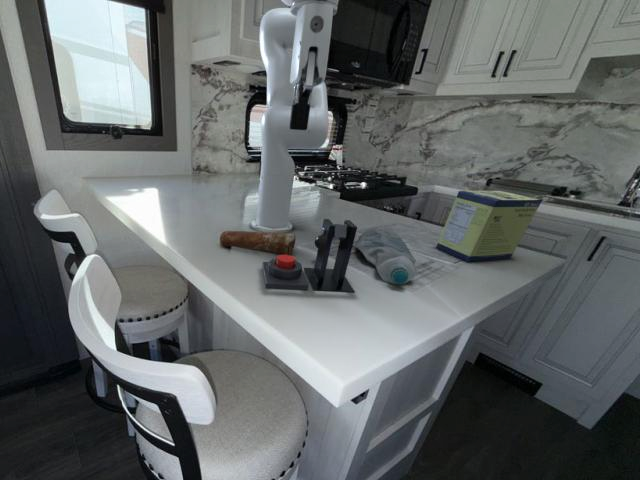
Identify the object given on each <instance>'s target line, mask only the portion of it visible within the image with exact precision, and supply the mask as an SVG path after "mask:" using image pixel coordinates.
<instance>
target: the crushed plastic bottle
mask: <svg viewBox="0 0 640 480" xmlns="http://www.w3.org/2000/svg"><path fill="white" fill-rule="evenodd" d="M355 246H356V248H357V249H358V250H359V251H360V252H361V253H362V254H363V257H365V259H366V260H367V262H369V263H371V264H372V265H373V266H375V268H376V270H377V273H378V275H379V276H380V278H381V279H382V280H383V282H385V283H389V284H396V285H403V284H406V283H408V282H410V281H412V280H413V279H414V278H415V277H416V276H417V268H416V265H415V264H416V262H417V261H416V259H415V257H414V256H413V254H412V252H411V251H410V249H409V248H408V246H407V245H406V243H405V242H404V240H403V239H402V238H401V236H400V235H398V234H397V233H396V232H395V231H393V230H392V229H389V228H388V227H384V226H376V227H372V228H369V229H367V230H366V231H364V232H363V233H362V234H360V235H359V237H358V240H357V241H356V242H355Z"/></svg>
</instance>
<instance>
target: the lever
mask: <svg viewBox="0 0 640 480" xmlns="http://www.w3.org/2000/svg"><path fill="white" fill-rule="evenodd" d="M333 224H334V225H335V229H334V234H333V238H332V241H340V240H342V239H344V238H346V232H347V225H346V224H344V223H343V224H342V223H333ZM320 236H321V234H319V235H318V236H316V237H315V239H314V246H315V248H317V249H318V247H319V242H320Z"/></svg>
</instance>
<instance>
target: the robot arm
mask: <svg viewBox="0 0 640 480" xmlns="http://www.w3.org/2000/svg"><path fill="white" fill-rule="evenodd" d="M280 1H281V2H282V3H283V4H285V5H286V6H289V7H275V8H273V9H270V10H268V11H266V13H264V14H263V16H262V18H261V20H260V25H259V51H260V57H261V60H262V64H263V67H264V69H265V72H266V104H267V109H266V110H264V112H263V113H262V117H261V121H260V134H261V136H260V137H261V162H260V175H259V189H258V197H257V198H258V200H257V213H256V218H254V219H253V220H252V221H251V224H250V225H251V228H253V229H255V230H267V231H292V230H293V224H292V223H291V222H290V221H289V216H290V209H291V202H292V195H293V194H292V193H293V188H294V187H293V186H294V179H295V172H296V165H295V162H294V159H293V158H292V156H291V154H290V153H289V149H297V150H298V149H299V150H318V149H320V148H321V147H323V146H324V144H325V143H326V141H327V138H328V134H329V124H330V122H329V106H328V105H329V103H328V90H327V85H326V82H325V80H326V77H327V69H328V63H329V62H328V61H329V55H330V54H329V53H330V46H331V45H330V44H331V37H332V28H333V16H335V15H336V14H337V13H338V7H339V1H340V0H280ZM287 50H288V51H292V52H291V53H292V54H290V52H288V51H287Z"/></svg>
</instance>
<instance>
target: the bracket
mask: <svg viewBox="0 0 640 480" xmlns="http://www.w3.org/2000/svg"><path fill="white" fill-rule="evenodd" d="M334 224H335V223H333V222H332V221H331V220H330V218H324V219H323V221H322V227H321V229H320V235H321V236H320V242H319V247H318V248H317V253H316V256H315V257H316V258H315V263H314V267H303V272H304V274H305V275H306V276H305V277H306V279H307V280H308V284H309V286H310V288H311V289H312V291H313V292H328V293H329V292H330V293H351V294H354V293H356V291H355V289H354V288H353V286H352V285H351V283H350V282H349V281H348V279H347V277H346V273H347V269H348V265H349V261H350V257H351V254H352V250H353V246H354V242H355V238H356V234H357V230H358V226H357V225H356V224H355V223H354V222H352V221H351V220H350V219H344V221H343V224H346V225H347V232H346V238H344V239H342V240H339V242H338V243H339V244H338V247H337V252H336V256H335V260H334V264H333V268H327V266H328V261H329V256H330V252H331V247H332V244H333V240H332V238H333V234H334V229H335V225H334Z"/></svg>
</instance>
